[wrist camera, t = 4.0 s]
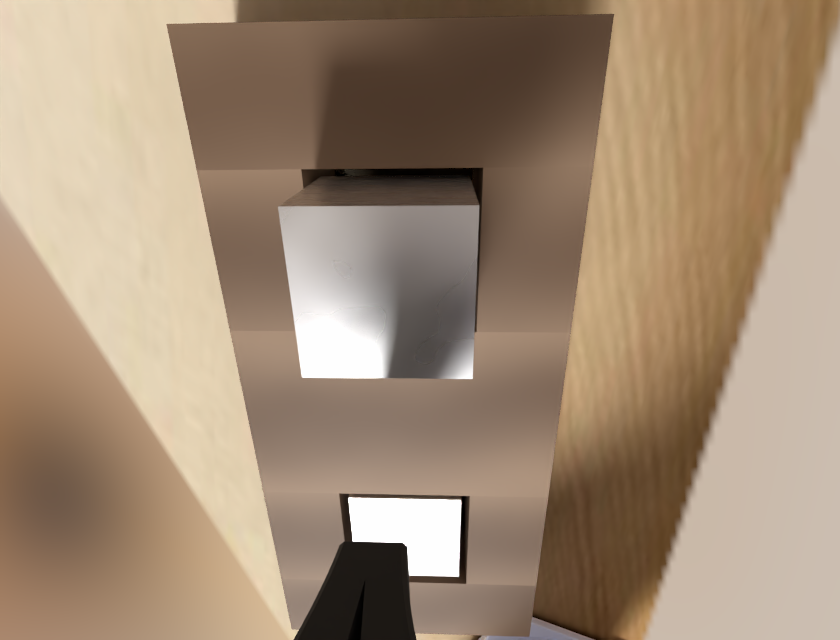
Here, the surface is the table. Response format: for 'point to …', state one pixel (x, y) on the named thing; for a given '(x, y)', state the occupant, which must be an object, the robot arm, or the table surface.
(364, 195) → the pin
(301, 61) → the block
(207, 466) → the table surface
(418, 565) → the pin
